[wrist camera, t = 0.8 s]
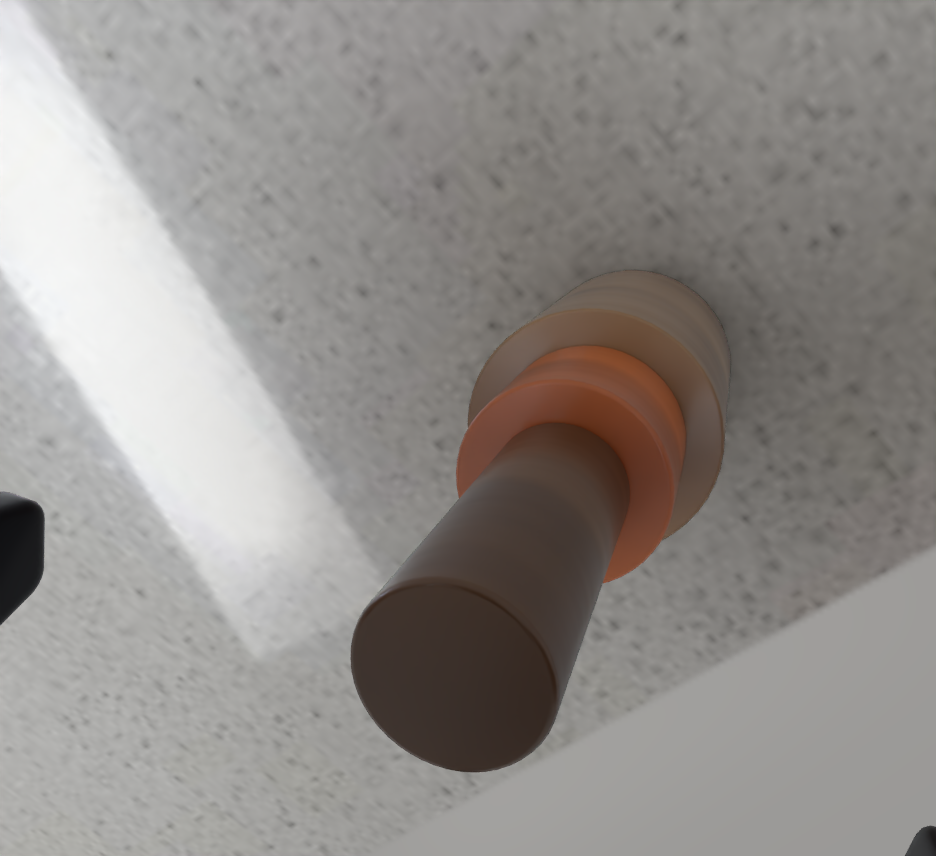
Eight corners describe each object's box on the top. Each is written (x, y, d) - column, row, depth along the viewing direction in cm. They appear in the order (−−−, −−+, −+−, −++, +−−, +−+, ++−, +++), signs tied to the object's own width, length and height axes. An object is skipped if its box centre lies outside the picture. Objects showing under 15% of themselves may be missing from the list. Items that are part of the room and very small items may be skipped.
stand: (718, 469, 20) (708, 574, 15) (531, 445, 21) (463, 535, 16) (743, 277, 18) (741, 319, 13) (541, 263, 19) (470, 298, 14)
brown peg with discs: (676, 537, 15) (611, 868, 8) (495, 510, 15) (294, 785, 9) (696, 354, 14) (644, 546, 7) (502, 336, 14) (283, 491, 8)
